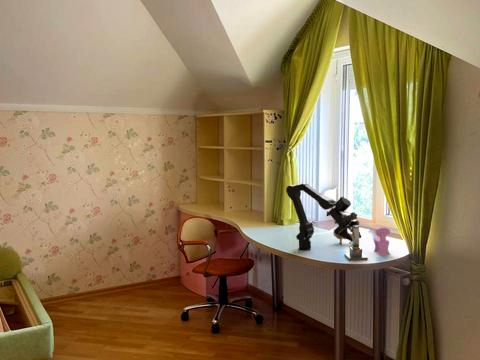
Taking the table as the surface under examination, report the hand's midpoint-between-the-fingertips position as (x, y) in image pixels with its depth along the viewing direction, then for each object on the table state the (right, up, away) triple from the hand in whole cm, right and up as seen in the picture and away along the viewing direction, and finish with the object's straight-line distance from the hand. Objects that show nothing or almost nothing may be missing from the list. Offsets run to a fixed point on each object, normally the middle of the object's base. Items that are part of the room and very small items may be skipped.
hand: (356, 239), depth 251 cm
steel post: (0, -5, +1) cm, 5 cm away
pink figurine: (+17, -9, +10) cm, 22 cm away
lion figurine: (+1, -7, +34) cm, 35 cm away
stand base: (0, -10, +1) cm, 10 cm away
